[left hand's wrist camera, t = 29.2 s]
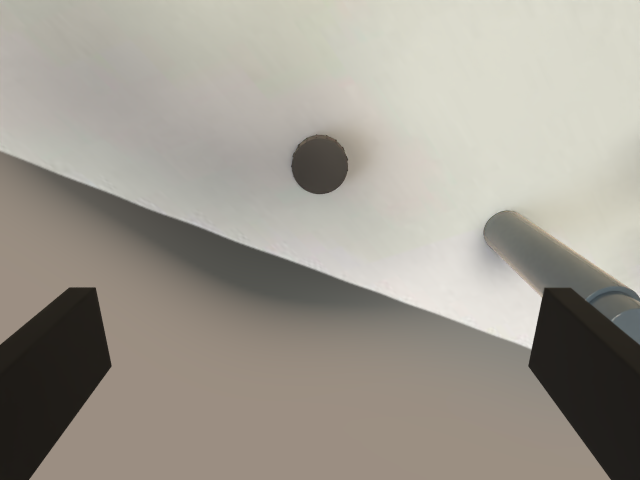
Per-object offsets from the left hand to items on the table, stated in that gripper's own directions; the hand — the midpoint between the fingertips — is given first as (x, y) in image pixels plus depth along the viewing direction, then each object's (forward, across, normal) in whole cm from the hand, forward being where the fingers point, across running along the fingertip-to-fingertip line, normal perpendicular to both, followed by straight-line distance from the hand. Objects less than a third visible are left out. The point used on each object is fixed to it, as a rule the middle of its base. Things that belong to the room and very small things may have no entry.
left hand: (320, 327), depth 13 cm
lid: (+27, 0, 0) cm, 27 cm away
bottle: (+29, +18, -7) cm, 35 cm away
